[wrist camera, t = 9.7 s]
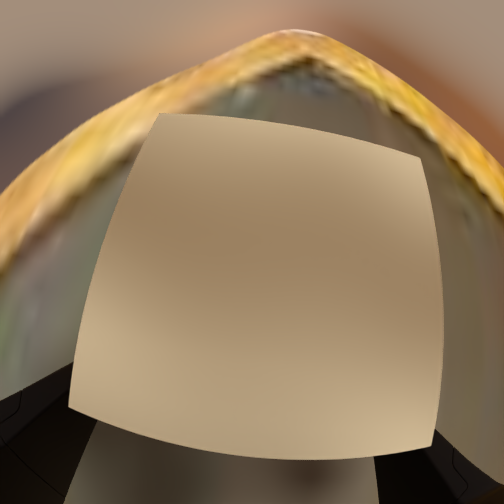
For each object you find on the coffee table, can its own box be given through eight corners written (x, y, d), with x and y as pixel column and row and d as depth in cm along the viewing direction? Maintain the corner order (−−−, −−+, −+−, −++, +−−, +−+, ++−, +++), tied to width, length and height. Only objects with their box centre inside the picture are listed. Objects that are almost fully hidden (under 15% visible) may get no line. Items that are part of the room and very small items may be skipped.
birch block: (285, 387, 15) (431, 445, 3) (198, 374, 15) (68, 407, 3) (295, 303, 17) (419, 158, 5) (212, 291, 17) (158, 113, 5)
